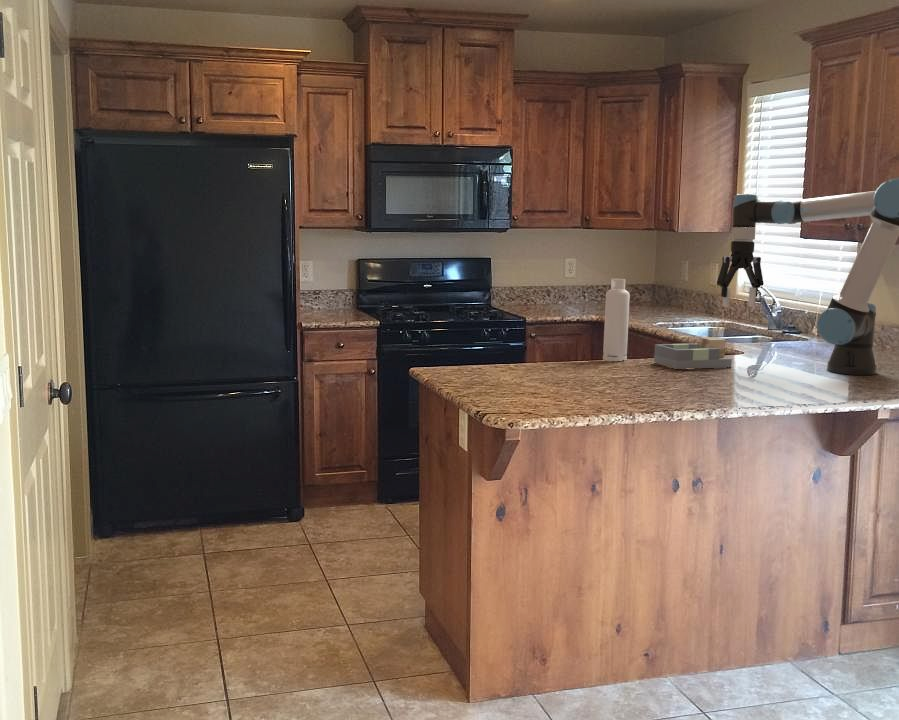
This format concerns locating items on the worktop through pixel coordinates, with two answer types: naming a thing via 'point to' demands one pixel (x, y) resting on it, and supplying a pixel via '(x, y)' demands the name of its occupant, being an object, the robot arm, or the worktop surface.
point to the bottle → (616, 321)
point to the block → (713, 344)
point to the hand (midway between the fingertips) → (738, 306)
